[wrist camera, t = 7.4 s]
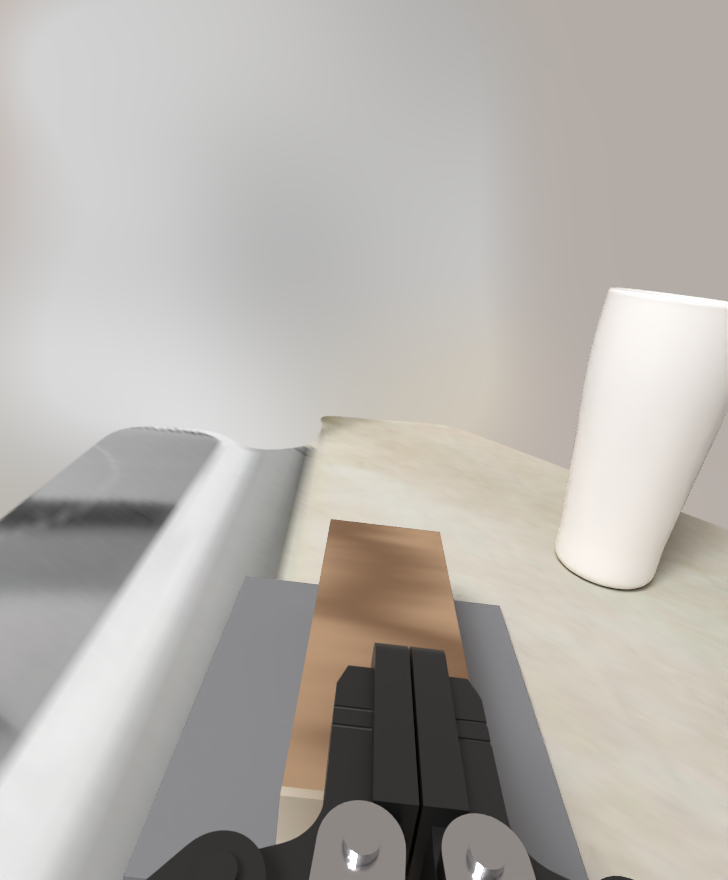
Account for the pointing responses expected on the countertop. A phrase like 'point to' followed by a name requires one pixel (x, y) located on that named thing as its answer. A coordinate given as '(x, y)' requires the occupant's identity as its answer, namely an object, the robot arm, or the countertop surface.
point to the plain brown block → (362, 639)
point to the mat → (271, 721)
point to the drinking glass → (642, 431)
